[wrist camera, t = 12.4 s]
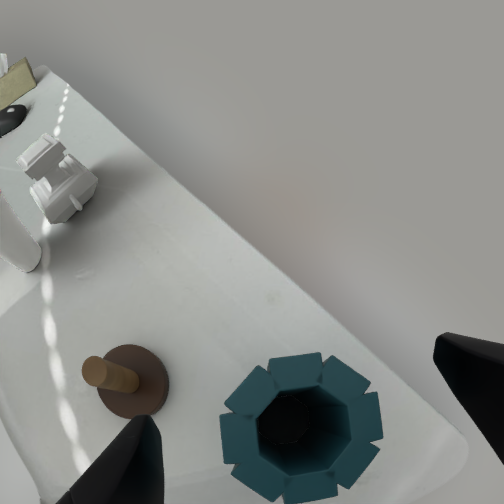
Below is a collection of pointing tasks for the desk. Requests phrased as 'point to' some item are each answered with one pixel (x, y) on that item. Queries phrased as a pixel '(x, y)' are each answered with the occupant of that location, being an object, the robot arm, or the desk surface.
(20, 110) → the computer mouse
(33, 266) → the cup
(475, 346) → the robot arm
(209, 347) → the desk surface
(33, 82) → the tissue box
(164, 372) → the dowel stand
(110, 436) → the desk surface
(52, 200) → the stamp
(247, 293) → the desk surface
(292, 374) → the sleeve
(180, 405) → the desk surface
